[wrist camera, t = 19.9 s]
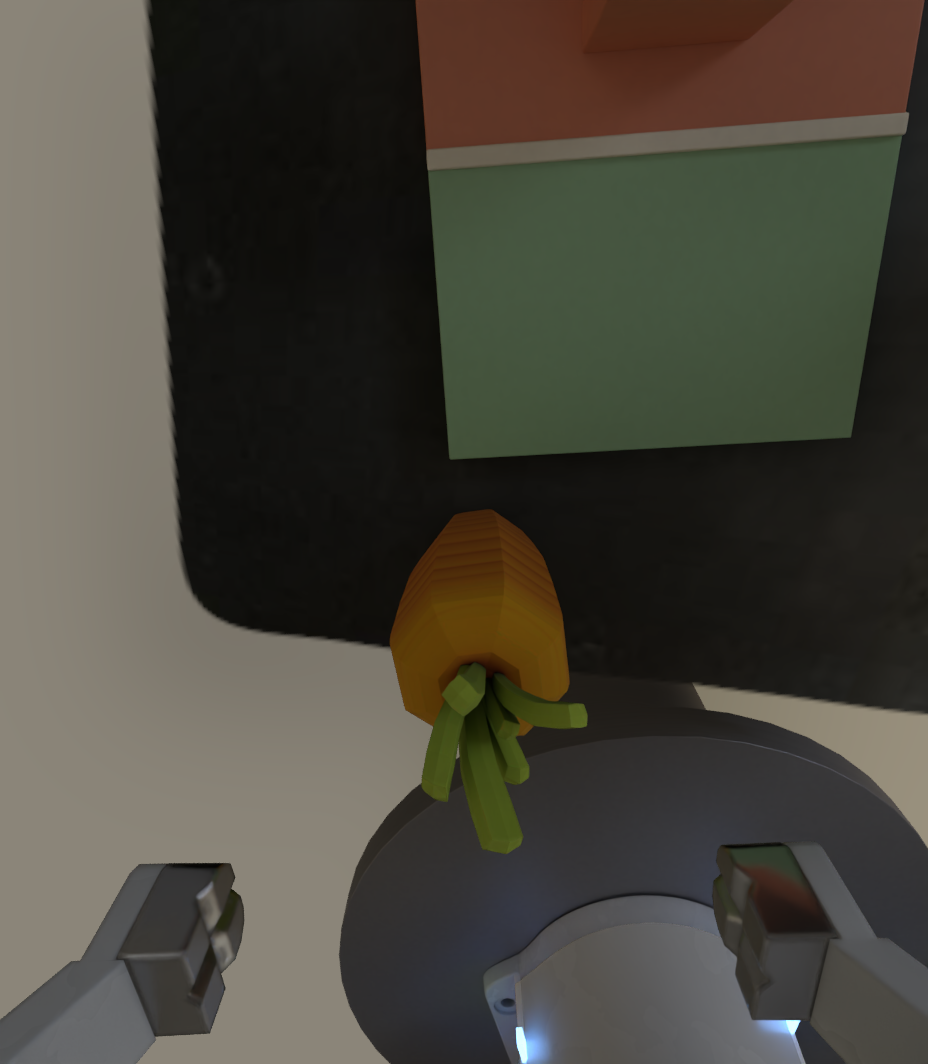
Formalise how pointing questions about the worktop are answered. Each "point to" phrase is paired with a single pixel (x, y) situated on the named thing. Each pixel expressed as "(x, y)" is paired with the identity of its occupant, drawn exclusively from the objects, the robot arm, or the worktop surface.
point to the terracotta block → (671, 22)
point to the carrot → (482, 663)
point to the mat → (657, 223)
